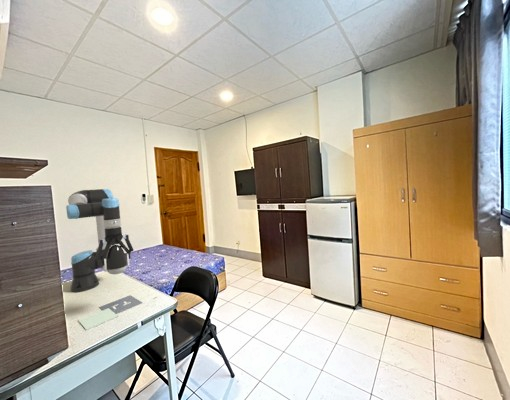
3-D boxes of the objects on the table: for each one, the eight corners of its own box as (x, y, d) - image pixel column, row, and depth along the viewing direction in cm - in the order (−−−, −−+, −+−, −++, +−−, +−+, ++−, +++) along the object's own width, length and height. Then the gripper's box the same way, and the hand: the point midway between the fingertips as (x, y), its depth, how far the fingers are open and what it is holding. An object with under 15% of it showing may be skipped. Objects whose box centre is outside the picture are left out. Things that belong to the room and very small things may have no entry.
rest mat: (78, 320, 110) (78, 320, 110) (108, 308, 120) (108, 308, 120) (86, 330, 102) (86, 329, 102) (118, 316, 112) (118, 315, 112)
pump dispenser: (132, 269, 126) (130, 242, 125) (116, 277, 116) (113, 247, 115) (119, 268, 129) (116, 242, 128) (101, 275, 119) (98, 247, 118)
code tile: (99, 307, 122) (98, 307, 122) (130, 295, 135) (130, 295, 135) (109, 316, 112) (109, 316, 112) (142, 302, 125) (142, 302, 125)
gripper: (89, 231, 110) (94, 276, 111) (138, 224, 127) (141, 262, 129) (85, 230, 115) (89, 273, 116) (132, 223, 132) (135, 260, 133)
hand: (116, 268), depth 122 cm, fingers closed on pump dispenser, 10 cm apart
